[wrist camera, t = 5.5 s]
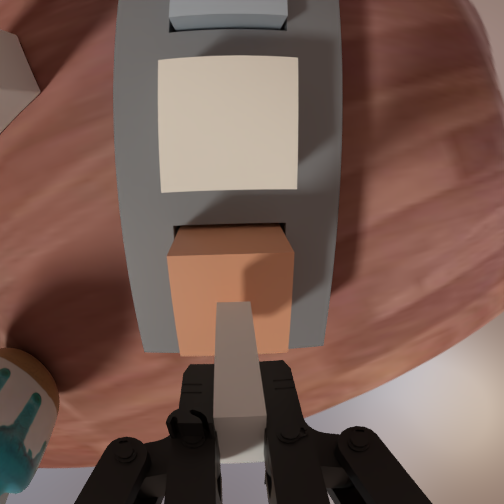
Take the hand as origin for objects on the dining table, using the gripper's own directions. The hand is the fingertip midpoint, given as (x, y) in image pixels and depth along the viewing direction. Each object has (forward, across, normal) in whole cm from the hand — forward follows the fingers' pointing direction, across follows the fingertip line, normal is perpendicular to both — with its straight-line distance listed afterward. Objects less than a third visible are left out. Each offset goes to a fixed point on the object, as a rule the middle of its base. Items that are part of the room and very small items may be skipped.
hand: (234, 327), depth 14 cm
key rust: (+7, 0, 0) cm, 7 cm away
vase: (+11, -24, -14) cm, 29 cm away
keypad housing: (+11, 0, +9) cm, 14 cm away
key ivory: (+7, 0, +9) cm, 12 cm away
